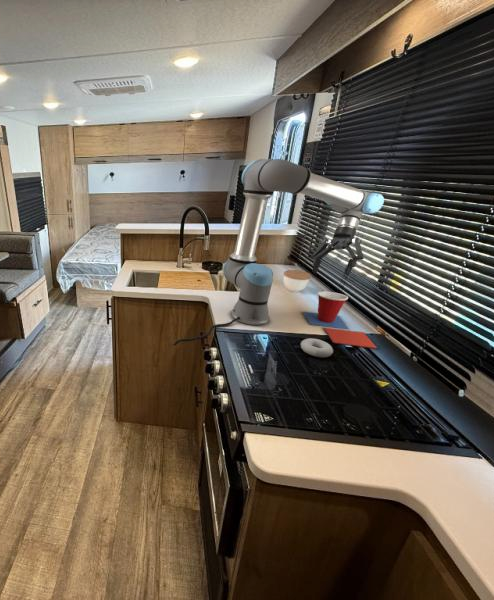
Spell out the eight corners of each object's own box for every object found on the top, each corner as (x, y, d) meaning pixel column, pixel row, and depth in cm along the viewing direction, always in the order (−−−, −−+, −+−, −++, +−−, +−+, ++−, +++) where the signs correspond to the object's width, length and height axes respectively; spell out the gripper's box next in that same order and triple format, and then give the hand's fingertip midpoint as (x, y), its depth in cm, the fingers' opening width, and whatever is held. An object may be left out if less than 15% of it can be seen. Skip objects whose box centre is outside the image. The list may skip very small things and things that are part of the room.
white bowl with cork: (298, 295, 159) (303, 275, 155) (275, 288, 169) (280, 269, 165) (311, 290, 165) (316, 271, 161) (288, 283, 175) (293, 265, 171)
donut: (326, 346, 115) (296, 342, 117) (328, 339, 113) (298, 334, 116) (335, 361, 106) (303, 356, 108) (338, 353, 104) (306, 348, 107)
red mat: (377, 349, 113) (377, 348, 113) (333, 343, 117) (333, 342, 117) (363, 333, 123) (363, 332, 123) (323, 328, 127) (324, 327, 127)
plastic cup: (331, 314, 138) (339, 290, 133) (345, 326, 128) (354, 299, 123) (306, 313, 139) (312, 289, 134) (318, 325, 129) (326, 299, 124)
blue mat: (348, 329, 127) (348, 328, 126) (309, 324, 131) (310, 323, 130) (338, 316, 137) (338, 315, 137) (303, 312, 141) (303, 311, 141)
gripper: (383, 231, 127) (366, 278, 126) (321, 234, 149) (306, 274, 148) (376, 222, 124) (358, 271, 123) (313, 227, 146) (297, 268, 145)
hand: (329, 273), depth 136 cm, fingers open, 13 cm apart
